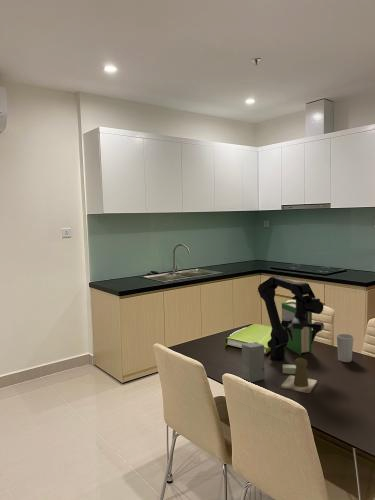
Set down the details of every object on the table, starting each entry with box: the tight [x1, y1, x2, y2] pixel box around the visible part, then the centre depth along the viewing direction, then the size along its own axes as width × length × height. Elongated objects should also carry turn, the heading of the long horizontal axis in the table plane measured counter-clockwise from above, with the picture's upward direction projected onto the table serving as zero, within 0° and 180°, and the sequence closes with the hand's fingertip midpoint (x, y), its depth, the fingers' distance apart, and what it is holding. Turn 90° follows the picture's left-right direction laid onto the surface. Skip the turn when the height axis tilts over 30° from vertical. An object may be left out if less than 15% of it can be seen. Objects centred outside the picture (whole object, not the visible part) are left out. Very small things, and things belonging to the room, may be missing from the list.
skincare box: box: [241, 341, 265, 383], centre depth 179 cm, size 8×7×16 cm
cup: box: [336, 333, 355, 363], centre depth 198 cm, size 8×8×12 cm
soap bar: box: [282, 363, 296, 375], centre depth 185 cm, size 6×4×3 cm, turn 77°
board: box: [280, 374, 318, 394], centre depth 171 cm, size 12×12×1 cm
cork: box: [294, 357, 309, 387], centre depth 169 cm, size 6×6×11 cm
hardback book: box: [281, 301, 313, 355], centre depth 216 cm, size 18×7×24 cm, turn 17°
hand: (302, 342), depth 187 cm, fingers open, 9 cm apart
